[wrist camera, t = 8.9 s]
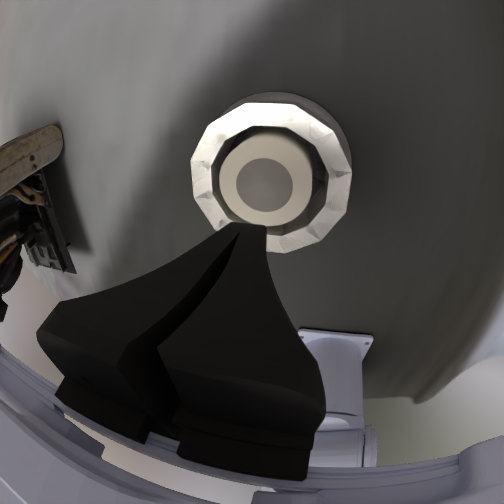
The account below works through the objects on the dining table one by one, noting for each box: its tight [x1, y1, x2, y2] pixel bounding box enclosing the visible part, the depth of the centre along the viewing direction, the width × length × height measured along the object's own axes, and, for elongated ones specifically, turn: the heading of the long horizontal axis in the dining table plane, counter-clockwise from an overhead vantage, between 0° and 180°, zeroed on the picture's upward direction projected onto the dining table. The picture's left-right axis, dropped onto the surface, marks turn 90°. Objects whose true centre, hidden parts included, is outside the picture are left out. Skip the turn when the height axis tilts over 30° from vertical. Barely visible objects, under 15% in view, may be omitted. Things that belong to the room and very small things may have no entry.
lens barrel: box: [191, 92, 352, 253], centre depth 16 cm, size 10×10×4 cm
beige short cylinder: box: [219, 128, 312, 226], centre depth 16 cm, size 5×5×4 cm
